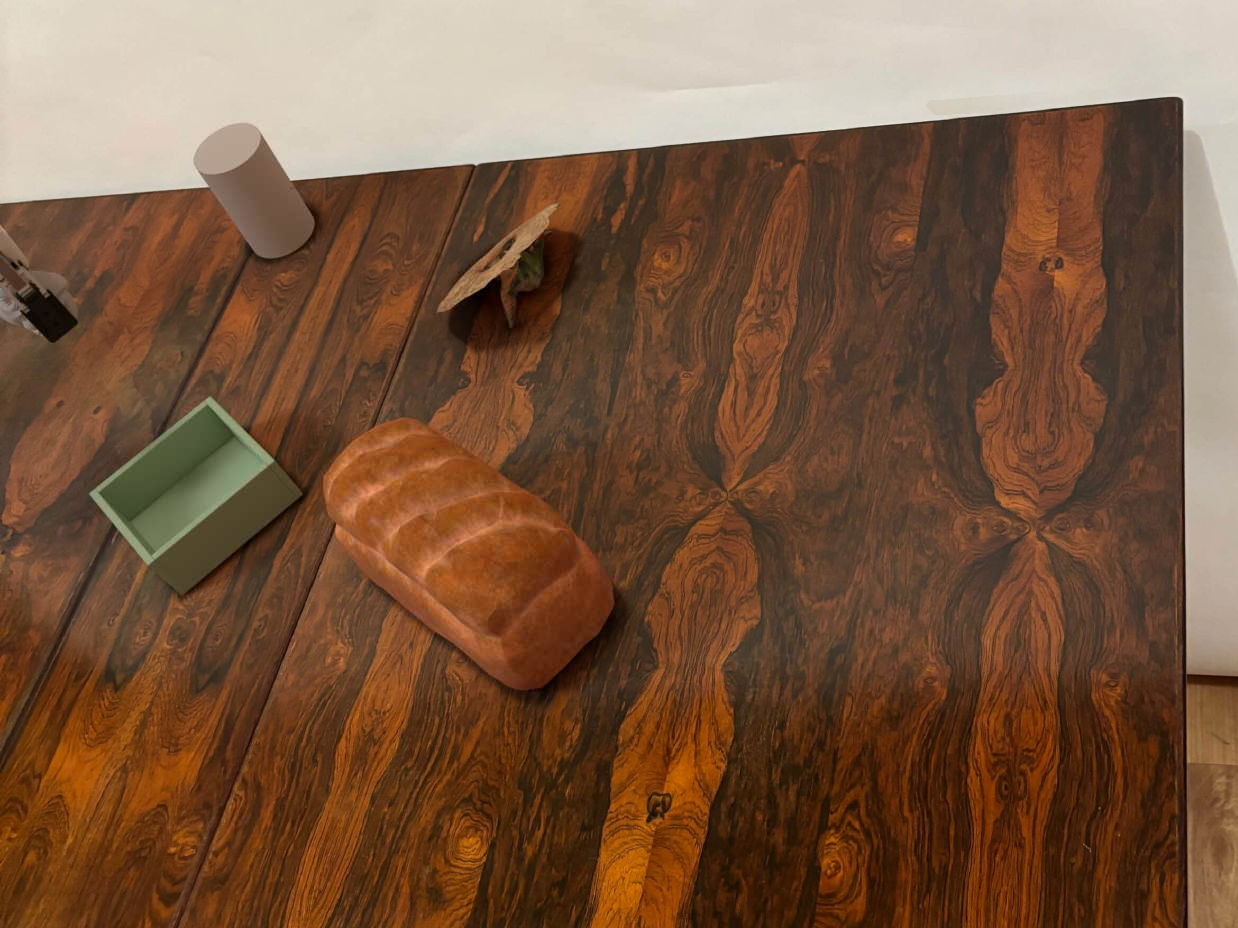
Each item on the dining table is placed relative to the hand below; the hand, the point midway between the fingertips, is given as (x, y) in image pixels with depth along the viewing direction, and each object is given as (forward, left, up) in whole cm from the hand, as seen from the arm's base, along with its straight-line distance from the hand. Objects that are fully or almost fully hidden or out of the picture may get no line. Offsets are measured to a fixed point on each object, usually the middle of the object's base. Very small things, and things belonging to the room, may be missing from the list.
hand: (48, 315), depth 109 cm
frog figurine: (0, 0, -2) cm, 2 cm away
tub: (-2, -11, -20) cm, 23 cm away
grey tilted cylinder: (+26, +18, -20) cm, 37 cm away
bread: (+12, -42, -20) cm, 48 cm away
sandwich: (+37, -14, -20) cm, 45 cm away
